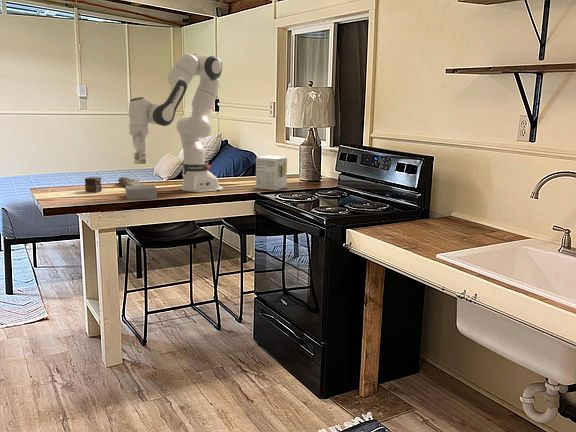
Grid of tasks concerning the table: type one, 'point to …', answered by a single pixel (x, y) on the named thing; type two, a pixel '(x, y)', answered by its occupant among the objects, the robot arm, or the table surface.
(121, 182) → the elongated rock
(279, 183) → the supplement box
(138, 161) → the sage block
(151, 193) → the block
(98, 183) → the box
